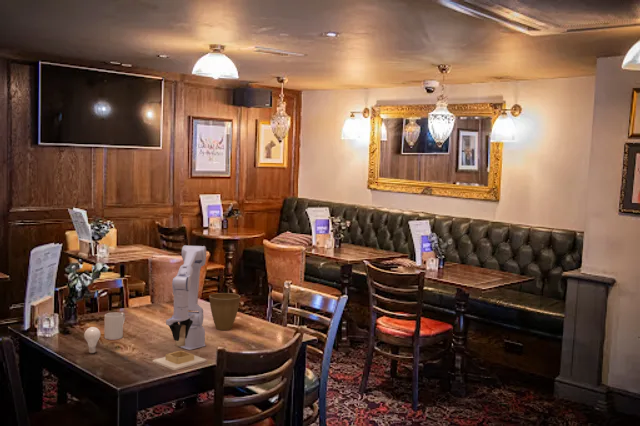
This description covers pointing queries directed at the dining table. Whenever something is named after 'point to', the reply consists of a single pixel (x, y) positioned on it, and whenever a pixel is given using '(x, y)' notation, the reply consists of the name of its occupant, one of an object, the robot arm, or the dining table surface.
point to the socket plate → (179, 360)
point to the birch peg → (181, 337)
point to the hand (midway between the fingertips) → (180, 339)
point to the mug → (114, 325)
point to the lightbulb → (92, 338)
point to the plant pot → (224, 309)
